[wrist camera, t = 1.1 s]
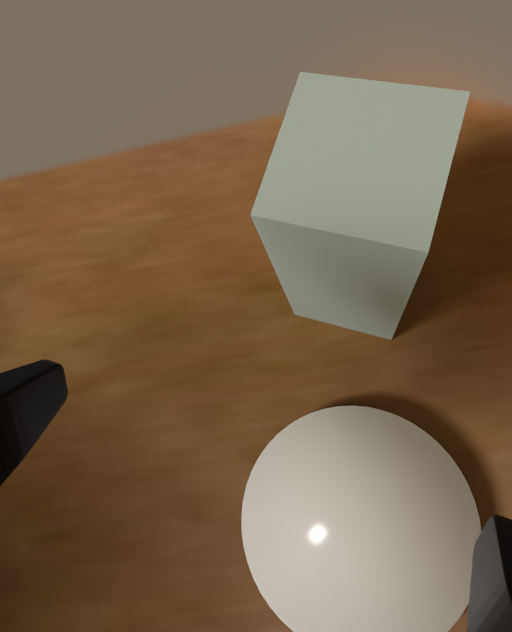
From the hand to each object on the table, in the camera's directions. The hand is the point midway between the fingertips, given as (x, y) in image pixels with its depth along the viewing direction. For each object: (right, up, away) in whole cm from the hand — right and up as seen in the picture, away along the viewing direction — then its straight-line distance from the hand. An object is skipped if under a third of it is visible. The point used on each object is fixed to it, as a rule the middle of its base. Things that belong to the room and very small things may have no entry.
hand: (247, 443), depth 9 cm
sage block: (+5, +4, +14) cm, 16 cm away
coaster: (+5, -7, +11) cm, 14 cm away
